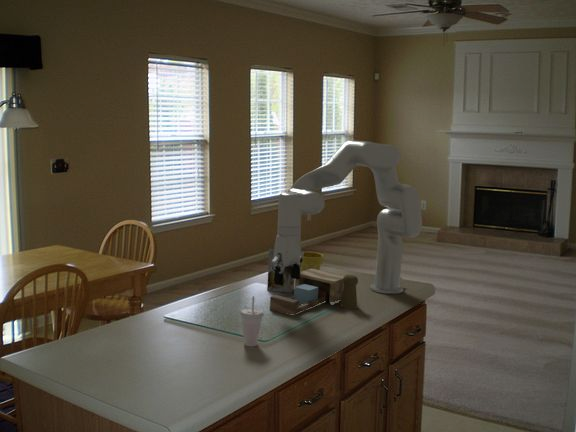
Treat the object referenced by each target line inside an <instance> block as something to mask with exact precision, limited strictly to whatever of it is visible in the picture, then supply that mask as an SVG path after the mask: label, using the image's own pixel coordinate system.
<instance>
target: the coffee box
mask: <svg viewBox="0 0 576 432" xmlns="http://www.w3.org/2000/svg"><path fill="white" fill-rule="evenodd" d="M274 246H275V244H273V245H272V246H270V247H269V248H268V264H267V269H268V270H267V286H266V290H267V291H271V292H280V293H288V294H290V293H291V292H293V291H294V289H295V279H294V278H291V266H293V265H290V266H287V267H285V268H284V270H283V272H282V273H284V277H283V285H282V286H281V285H276V284H274V274H275V272H274V270H273V269H272V264H271V261H272V260H273V256H274ZM281 264H282V263H281ZM279 268H281V267H280V266H279Z"/></svg>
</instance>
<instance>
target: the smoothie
mask: <svg viewBox="0 0 576 432" xmlns="http://www.w3.org/2000/svg"><path fill="white" fill-rule="evenodd" d="M251 298H252V299H251V301H252V302H251V307H245V308H242V309H241V310H240V315H241V320H242V321H241V322H242V336H243V345H244V346H245V347H256V346H257V345H258V342H259V335H260V332H261V325H262V320H263V319H262V318H263V316H264V311H263V310H262V309H261V308H257V307H255V296H252V297H251Z"/></svg>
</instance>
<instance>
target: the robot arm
mask: <svg viewBox="0 0 576 432" xmlns="http://www.w3.org/2000/svg"><path fill="white" fill-rule="evenodd" d="M400 161H401V152H400V149H399V148H398V147H397V146H396V145H394V144H385V143H377V142H373V141H363V140H352V139H351V140H346V141H345V142H344V143H342V145H341V146H339V148H337V150H336V151H335V152H334V153H333V154H332V156H331V157H329V159H328V160H327V161H325V163H324V164H323V165H321V166H319V167H318V168H315V169H313V170H312V171H309V172H307V173H305V174H304V175H302V176H301V177H299V178H298V179H297V180H296V181H295V182H294V183H293V184H292V185H291V186H290V188H288V190H287V191H286V192H284V191H283V192H281V193H280V194H279V196H278V206H277V207H278V209H277V235H276V236H275V241H274V245H275V246H274V256H273V260H272V261H271V264H272V269H273V270H274V272H275V274H274V284H276V285H281V286H282V285H283V277H284V273H282V272H283V270H284V268H285V267H287V266H290V265H293V266H291V278H294V280H295V279H300V268H299V267H301V263H302V260H303V259H302V258H303V255H304V253H303V252H304V251H302V239H301V233H302V232H301V230H302V229H301V228H302V226H301V225H302V215H313V216H314V215H317V214H319V213H321V212H322V211H323V210H324V208H325V206H326V205H325V204H326V202H325V198H324V196H323V195H322V194H320V193H319V192H316V191H318V190H321V189H324V188H330V187H334V186H337V185H339V184H341V183H342V182H343V181H344V180H345V179H346V178H347V177H348V176H349V175H350V173H351V172H352V171H354V169H355V168H356V167H366V168H368V169H370V171H371V172H372V174H373V177H374V182H375V183H374V184H375V190H376V198H377V200H378V204H380V206H382V207H385V208H384V209H382V210H380V212H379V213H378V214H377V217H376V225H377V226H376V227H377V228H376V229H377V249H376V250H377V251H376V260H375V261H376V263H375V271H374V272H375V273H374V283H371V284H370V288H369V289H370V290H371V291H373V292H375V293H376V292H377V293H380V294H387V295H397V294H401V293H403V292H404V287H402V286H400V284H401V282H403V277H402V276H401V271H402V260H403V259H402V258H403V250H404V247H403V246H404V245H403V244H404V243H403V240H402V237H405V238H409V239H410V238H416V237H418V236H419V235H420V233H421V232H422V227H423V217H422V210H421V201H420V195H419V192H418V190H417V189H416V188H415V187H414V186H412V185H410V184H405V183H401V182H400V181H399V175H398V172H397V171H398V170H397V168H396V167H397V166H398V165H399V163H400ZM281 263H282V264H281ZM279 266H280V267H281V268H279Z"/></svg>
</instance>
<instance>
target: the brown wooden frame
mask: <svg viewBox="0 0 576 432" xmlns="http://www.w3.org/2000/svg"><path fill="white" fill-rule="evenodd" d="M327 298H328V296H327V292H326V291H322V290H318V299H316V300H314V301H311V302H308V303H306V304H303V305H299V301H298V300H294V295H292V296H289V297H286V296H281V295H278V294H273V295H272V296H270V297H269V310H270V311H272V312H276V311H277V312H276V313H280V312H282V313H281V314H284V313H288V314H296V313H298V312H300V311H303V310H306V309H308V308H310V307H313V306H315V305H317V304H319V303H322V302H324V301H326V302H327ZM288 314H287V315H288Z"/></svg>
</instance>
